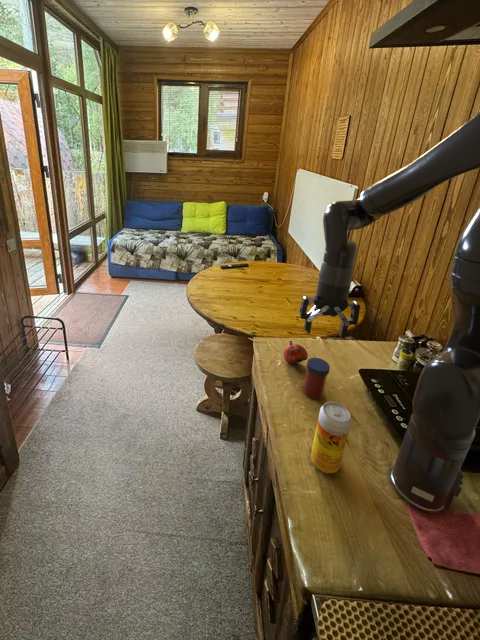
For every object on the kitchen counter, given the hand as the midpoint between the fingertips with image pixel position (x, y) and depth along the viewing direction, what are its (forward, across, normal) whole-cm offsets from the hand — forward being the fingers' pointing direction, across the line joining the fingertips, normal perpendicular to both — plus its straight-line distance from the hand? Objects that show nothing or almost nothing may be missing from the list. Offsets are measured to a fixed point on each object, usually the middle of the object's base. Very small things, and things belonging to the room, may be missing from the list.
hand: (324, 333), depth 83 cm
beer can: (+20, -1, -22) cm, 30 cm away
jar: (+20, 0, 0) cm, 20 cm away
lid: (+10, 0, 0) cm, 10 cm away
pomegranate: (+20, -4, +12) cm, 24 cm away
